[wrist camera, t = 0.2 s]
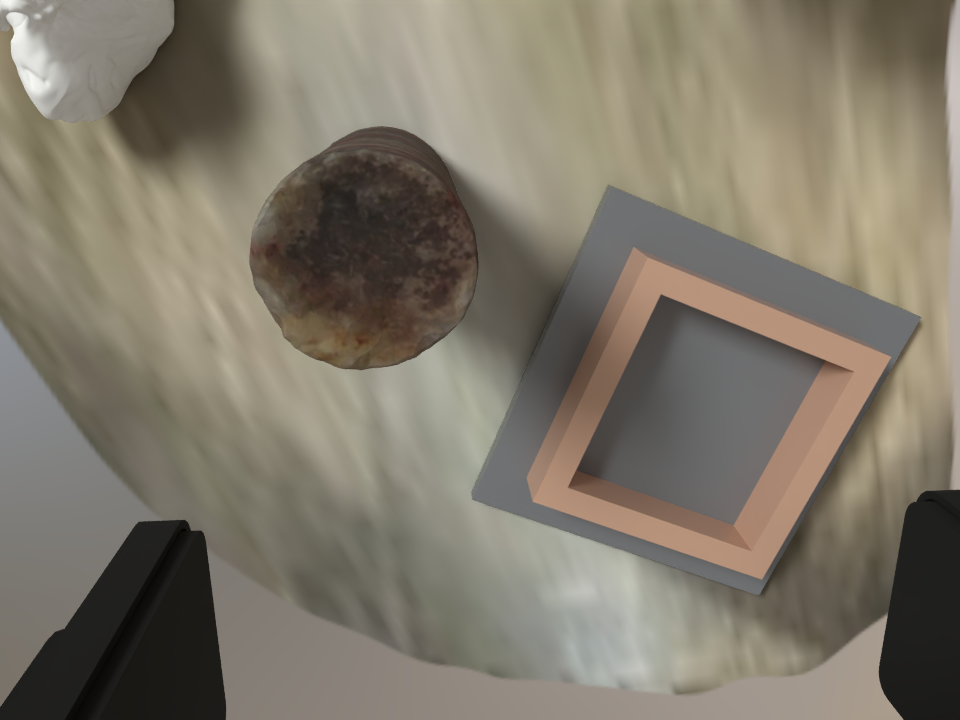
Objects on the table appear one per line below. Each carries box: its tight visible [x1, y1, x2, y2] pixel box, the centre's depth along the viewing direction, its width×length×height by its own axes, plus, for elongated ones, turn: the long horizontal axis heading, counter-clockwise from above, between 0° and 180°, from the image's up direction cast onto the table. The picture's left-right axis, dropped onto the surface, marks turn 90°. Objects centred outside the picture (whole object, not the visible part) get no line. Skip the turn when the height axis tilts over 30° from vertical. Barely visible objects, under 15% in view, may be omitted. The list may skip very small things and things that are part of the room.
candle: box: [250, 126, 478, 370], centre depth 34 cm, size 8×7×20 cm
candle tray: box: [472, 185, 921, 596], centre depth 47 cm, size 20×20×4 cm
